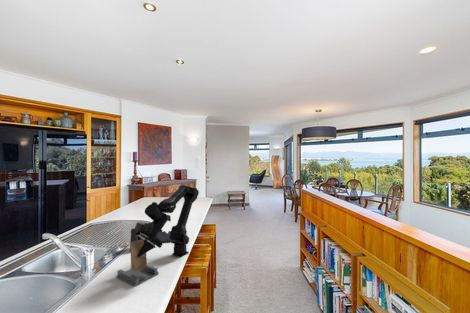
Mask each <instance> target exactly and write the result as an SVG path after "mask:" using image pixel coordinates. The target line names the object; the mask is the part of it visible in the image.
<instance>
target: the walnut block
mask: <svg viewBox="0 0 470 313" xmlns="http://www.w3.org/2000/svg"><path fill="white" fill-rule="evenodd" d="M143 245H144V241H143V240H142V239H140V240H137V241H133V242H129V251H130V250H131V252H130V269H133V270H134V271H135V272H138V271H140V270H143V269H145V268H147V265H148V263H147V262H148V261H147V260H148V259H147V252H146V253H145V254H143V255H142V256H140V257H138V256H137V255H138V253H139V252H140V250H141V248H142V247H143Z"/></svg>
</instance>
